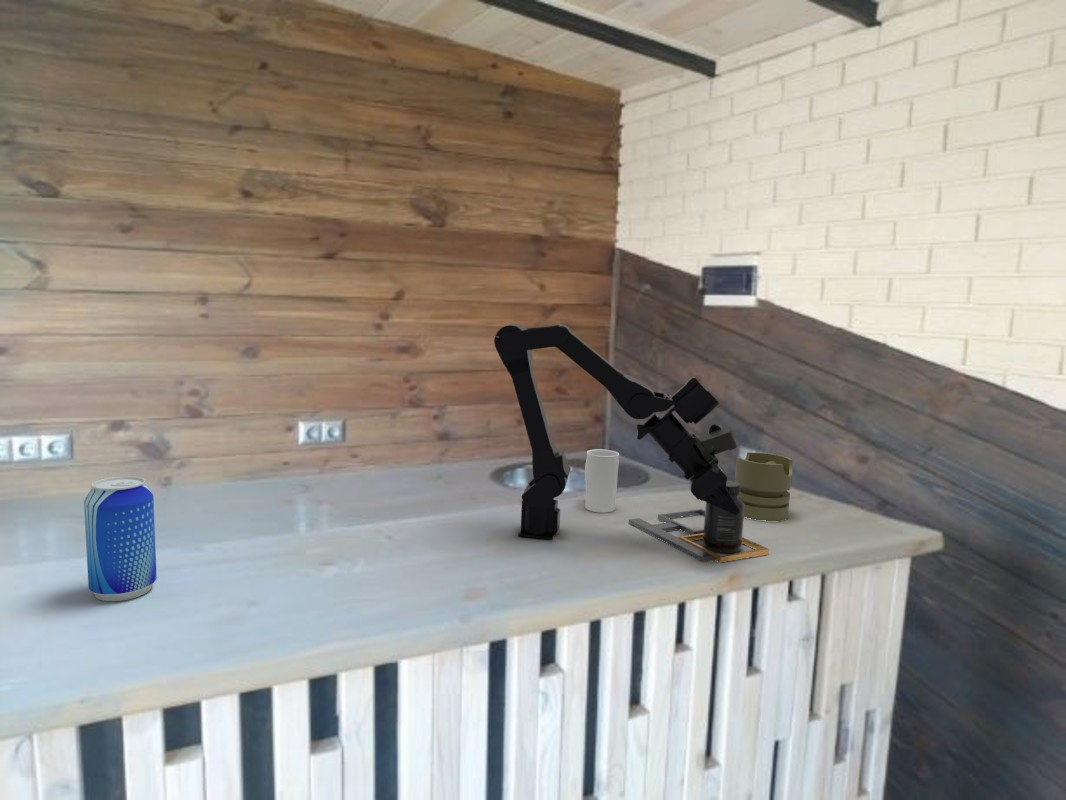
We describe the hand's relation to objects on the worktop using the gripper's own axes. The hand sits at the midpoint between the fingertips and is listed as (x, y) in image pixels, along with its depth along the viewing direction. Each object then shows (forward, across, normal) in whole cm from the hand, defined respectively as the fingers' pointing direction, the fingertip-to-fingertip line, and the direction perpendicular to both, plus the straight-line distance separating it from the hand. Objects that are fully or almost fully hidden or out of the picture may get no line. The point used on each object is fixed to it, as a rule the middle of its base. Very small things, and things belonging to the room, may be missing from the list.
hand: (734, 505), depth 128 cm
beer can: (-57, -40, +69) cm, 98 cm away
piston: (+12, +24, -1) cm, 27 cm away
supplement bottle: (+5, 0, +7) cm, 8 cm away
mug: (-12, +20, +24) cm, 33 cm away
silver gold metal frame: (+3, +6, +9) cm, 11 cm away
